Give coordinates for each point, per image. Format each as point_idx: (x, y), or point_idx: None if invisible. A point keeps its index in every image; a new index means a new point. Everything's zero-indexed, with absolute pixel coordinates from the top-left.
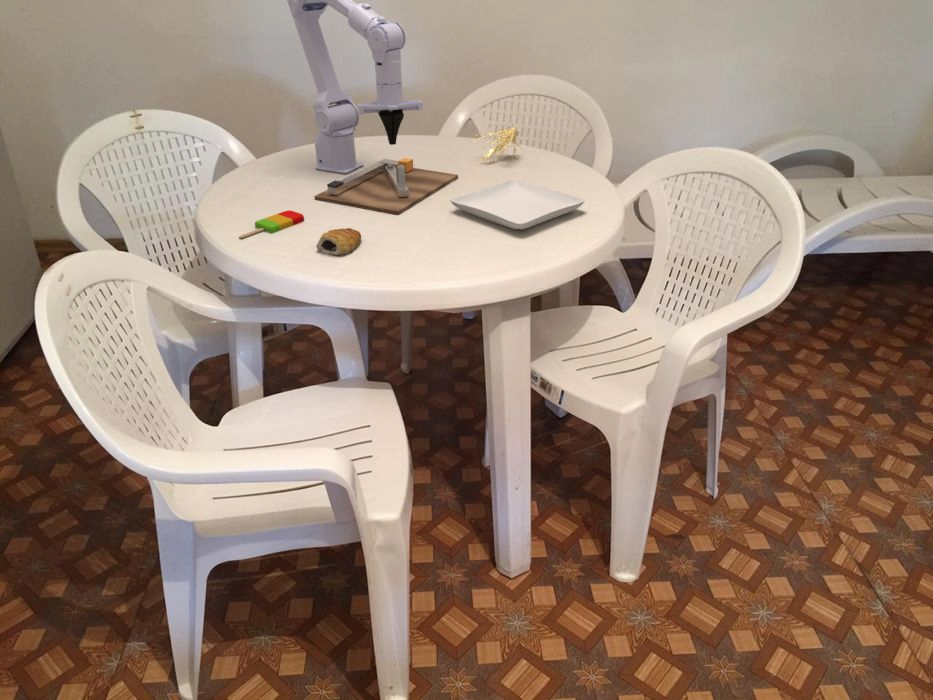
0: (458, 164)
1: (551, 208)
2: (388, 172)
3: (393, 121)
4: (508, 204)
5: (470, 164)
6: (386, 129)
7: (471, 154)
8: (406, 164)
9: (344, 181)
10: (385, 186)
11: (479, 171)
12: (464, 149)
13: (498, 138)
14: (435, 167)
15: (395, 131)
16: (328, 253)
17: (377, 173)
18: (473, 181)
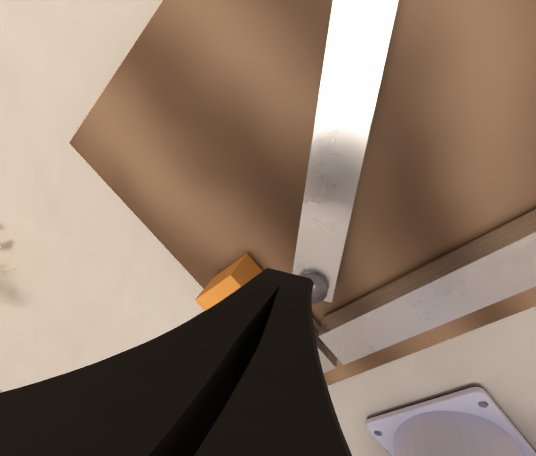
0: (70, 274)
1: None
2: (349, 220)
3: (167, 441)
4: None
5: (37, 256)
6: (326, 387)
7: (33, 329)
8: (235, 271)
9: None
10: (411, 117)
11: (12, 179)
12: (49, 370)
13: None
14: (139, 284)
15: (219, 326)
16: None
17: (373, 293)
18: (30, 76)
